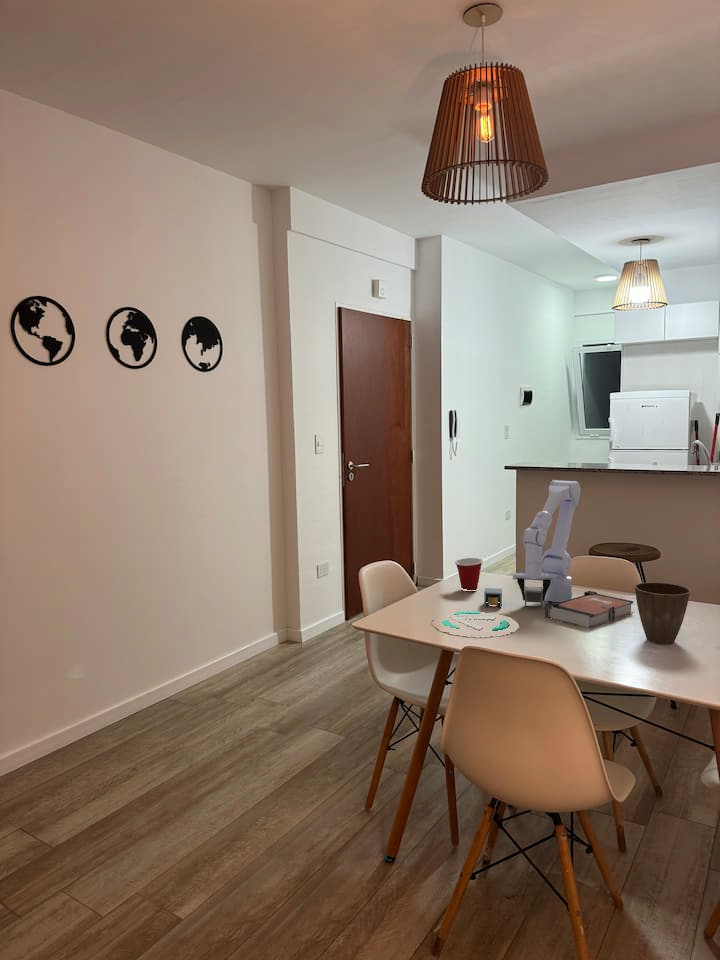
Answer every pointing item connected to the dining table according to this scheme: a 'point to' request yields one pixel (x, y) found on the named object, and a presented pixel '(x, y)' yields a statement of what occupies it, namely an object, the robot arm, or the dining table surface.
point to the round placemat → (503, 624)
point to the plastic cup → (469, 572)
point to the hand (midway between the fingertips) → (533, 600)
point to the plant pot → (661, 610)
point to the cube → (493, 600)
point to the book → (589, 609)
